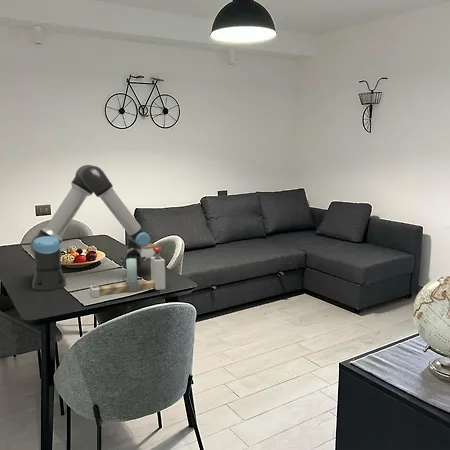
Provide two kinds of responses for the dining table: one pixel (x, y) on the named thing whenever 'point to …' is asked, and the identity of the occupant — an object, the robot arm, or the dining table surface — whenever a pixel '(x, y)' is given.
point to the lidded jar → (147, 251)
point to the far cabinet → (158, 273)
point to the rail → (125, 288)
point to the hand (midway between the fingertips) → (132, 267)
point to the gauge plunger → (157, 252)
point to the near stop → (94, 291)
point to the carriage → (131, 274)
